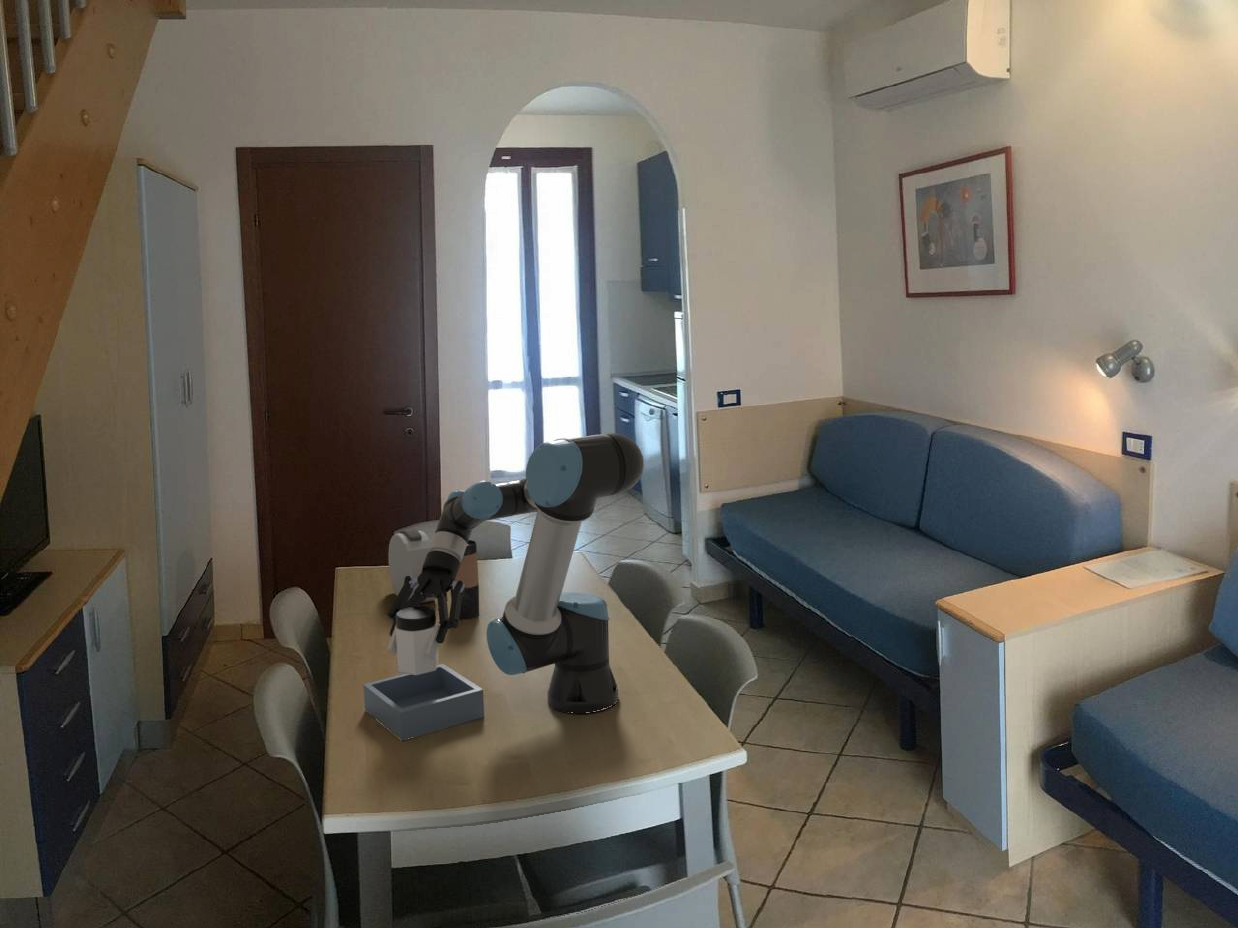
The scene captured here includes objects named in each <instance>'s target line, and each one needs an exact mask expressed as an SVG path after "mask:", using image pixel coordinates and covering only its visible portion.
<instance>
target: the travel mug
mask: <svg viewBox="0 0 1238 928" xmlns="http://www.w3.org/2000/svg"><path fill="white" fill-rule="evenodd" d="M477 550H478V549H477V542H476V541H475V540H471V539H469V541H468V544H467V546H466V549H465V552H464V555H463V558H462V561H461V562H460V567H459V570H458V573H457V576H456V578H455V581H457V582H458V581H462V582H463V584H464V585H465V586H466V590H465V592H464V594H463V596H462V603H461V610H460V617H459V620H469V619H470V620H472V619H474V618H476V617H478V616H479V614H480V587H479V585H480V584H479V580H480V579H479V564H478V563H479V562H478V551H477ZM449 592H450V599H451V601H452V594H453V588H452V589H450V590H449Z"/></svg>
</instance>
